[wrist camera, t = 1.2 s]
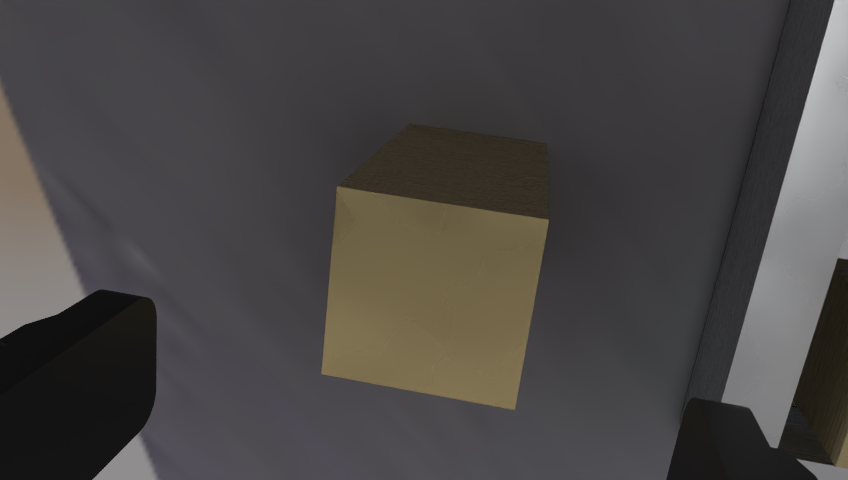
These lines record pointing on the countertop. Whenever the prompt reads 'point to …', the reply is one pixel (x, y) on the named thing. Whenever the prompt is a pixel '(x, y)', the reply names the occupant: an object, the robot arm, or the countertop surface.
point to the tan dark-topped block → (438, 265)
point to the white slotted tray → (790, 255)
